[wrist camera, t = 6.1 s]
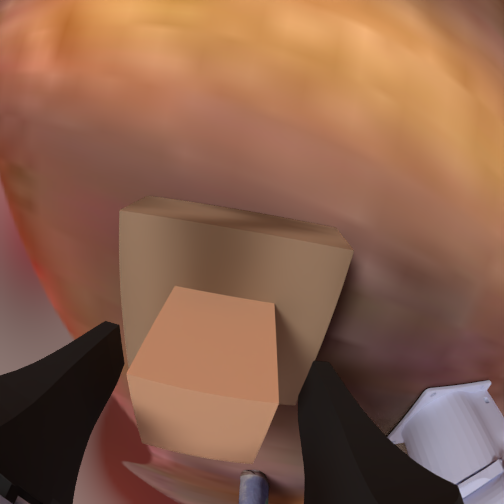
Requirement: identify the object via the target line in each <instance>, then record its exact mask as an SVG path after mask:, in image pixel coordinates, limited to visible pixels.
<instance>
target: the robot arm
mask: <svg viewBox="0 0 504 504" xmlns="http://www.w3.org/2000/svg"><path fill="white" fill-rule="evenodd" d="M123 366H124V357H123V350H122V343H121V335H120V327H119V325H117V324H114V323H111V322H107V321H105V322H103V323H101V324H100V325H98V326H96V327H95V328H93V329H92V330H90V331H88V332H87V333H85V334H84V335H82V336H81V337H79V338H77V339H76V340H74V341H72V342H71V343H69V344H68V345H66V346H64V347H63V348H61V349H59V350H57V351H56V352H54V353H52V354H50V355H48V356H46V357H45V358H43V359H41V360H39V361H37V362H35V363H33V364H30V365H28V366H26V367H23V368H21V369H18V370H16V371H13V372H10V373H7V374H3V375H0V504H73V496H74V491H75V485H76V481H77V476H78V472H79V468H80V465H81V461H82V458H83V455H84V451H85V449H86V446H87V442H88V440H89V437H90V434H91V432H92V430H93V428H94V425H95V424H96V422H97V420H98V418H99V416H100V414H101V412H102V411H103V409H104V407H105V405H106V403H107V401H108V399H109V398H110V396H111V394H112V392H113V390H114V388H115V386H116V384H117V382H118V379H119V377H120V374H121V372H122V369H123ZM490 385H491V382H490V380H487V381H481V382H475V383H468V384H461V385H453V386H445V387H435V388H428V389H426V390H425V391H424V392H423V393H422V395H421V396H420V397H419V399H418V400H417V401H416V403H415V404H414V405H413V407H412V408H411V409H410V410H409V412H408V413H407V414H406V415H405V417H404V418H403V419H402V420H401V422H400V423H399V424H398V425H397V426H396V427H395V429H394V430H393V431H392V432H391V433H390V434H389V435H388V437H386V436H385V435H384V434H383V433H382V432H381V430H380V429H379V428H378V427H377V426H376V425H375V424H374V423H373V422H372V420H371V419H370V418H369V417H368V416H367V414H366V413H365V412H364V411H363V410H362V408H361V407H360V406H359V404H358V403H357V402H356V400H355V399H354V398H353V396H352V395H351V393H350V392H349V391H348V389H347V388H346V386H345V385H344V383H343V382H342V380H341V379H340V378H339V376H338V375H337V373H336V372H335V370H334V369H333V367H332V366H331V364H330V363H329V362H322V361H313V363H312V365H311V368H310V370H309V372H308V375H307V377H306V379H305V382H304V384H303V386H302V388H301V391H300V393H299V395H298V423H299V431H300V439H301V447H302V454H303V462H304V474H305V491H304V504H504V417H503V415H502V414H501V412H500V410H499V409H498V407H497V405H496V404H495V402H494V401H493V399H492V397H491V396H490V394H489V393H488V391H487V389H488V388H489V386H490ZM398 443H405V446H406V449H407V452H408V455H409V456H408V455H407V454H405V453H404V452H403V451H402V450H400V449H399V448H398V447H397V446H396V445H395V444H398Z"/></svg>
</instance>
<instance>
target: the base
mask: <svg viewBox="0 0 504 504" xmlns="http://www.w3.org/2000/svg"><path fill="white" fill-rule="evenodd" d="M353 252H354V250H353V249H352V247H351V246H350V245H349V244H348V242H347V241H346V240H345V239H344V237H343V236H342V235H341V234H340V232H339V231H338V230H337V229H336V228H335V227H330V226H325V225H320V224H315V223H310V222H305V221H300V220H294V219H289V218H284V217H278V216H273V215H267V214H262V213H256V212H251V211H245V210H239V209H233V208H227V207H221V206H215V205H208V204H202V203H196V202H189V201H182V200H176V199H169V198H162V197H154V196H146V197H144V198H142V199H140V200H138V201H136V202H135V203H133V204H131V205H129V206H127V207H125V208H123V209H121V210H120V213H119V267H120V290H121V304H122V316H123V327H124V336H125V344H126V352H127V359H128V366H129V368H130V366H131V364H132V362H133V360H134V358H135V356H136V354H137V353H138V351H139V349H140V347H141V345H142V343H143V342H144V340H145V338H146V336H147V334H148V332H149V331H150V329H151V327H152V325H153V323H154V322H155V320H156V318H157V316H158V314H159V313H160V311H161V309H162V307H163V306H164V304H165V302H166V300H167V299H168V297H169V295H170V293H171V292H172V290H173V288H174V287H175V286H178V287H184V288H189V289H194V290H199V291H204V292H210V293H215V294H221V295H227V296H232V297H238V298H244V299H250V300H256V301H262V302H269V303H274V306H275V325H276V345H277V367H278V392H279V404H282V405H295V404H296V402H297V400H298V395H299V393H300V391H301V388H302V386H303V384H304V382H305V379H306V377H307V375H308V372H309V370H310V368H311V365H312V363H313V361H315V359H316V356H317V354H318V352H319V349H320V347H321V344H322V342H323V339H324V336H325V334H326V331H327V329H328V326H329V323H330V321H331V318H332V315H333V312H334V310H335V307H336V304H337V301H338V298H339V296H340V293H341V290H342V287H343V284H344V281H345V278H346V275H347V271H348V268H349V265H350V262H351V259H352V256H353Z"/></svg>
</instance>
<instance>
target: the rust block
mask: <svg viewBox="0 0 504 504" xmlns="http://www.w3.org/2000/svg"><path fill="white" fill-rule="evenodd" d="M126 374H127V379H128V385H129V390H130V395H131V400H132V404H133V409H134V413H135V417H136V422H137V426H138V429H139V433H140V437H141V441H142V443H144V444H148V445H151V446H155V447H158V448H162V449H166V450H170V451H174V452H179V453H183V454H188V455H193V456H198V457H203V458H209V459H215V460H221V461H228V462H236V463H245V464H253V462H254V460H255V458H256V455H257V453H258V451H259V449H260V447H261V444H262V442H263V440H264V438H265V435H266V433H267V431H268V428H269V426H270V424H271V421H272V419H273V417H274V414H275V412H276V409H277V407H278V404H279V392H278V367H277V345H276V325H275V306H274V303H269V302H262V301H256V300H250V299H244V298H238V297H232V296H227V295H221V294H215V293H210V292H204V291H199V290H194V289H189V288H184V287H178V286H175V287H174V288H173V290H172V292H171V293H170V295H169V297H168V299H167V300H166V302H165V304H164V306H163V307H162V309H161V311H160V313H159V314H158V316H157V318H156V320H155V322H154V323H153V325H152V327H151V329H150V331H149V332H148V334H147V336H146V338H145V340H144V342H143V343H142V345H141V347H140V349H139V351H138V353H137V354H136V356H135V358H134V360H133V362H132V364H131V366H130V368H129V370H128V372H127V373H126Z"/></svg>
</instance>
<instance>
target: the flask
mask: <svg viewBox="0 0 504 504" xmlns="http://www.w3.org/2000/svg"><path fill="white" fill-rule="evenodd" d="M252 471H253V472H254V473H255V474H254V473H252V472H251V471H245V470H244V471H243V472H242V473H241V477H240V481H241V482H240V493H239V504H268V491H269V484H268V481H267V479H266V477H265V474H263V473H262V472H260V471H256V470H252Z"/></svg>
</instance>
